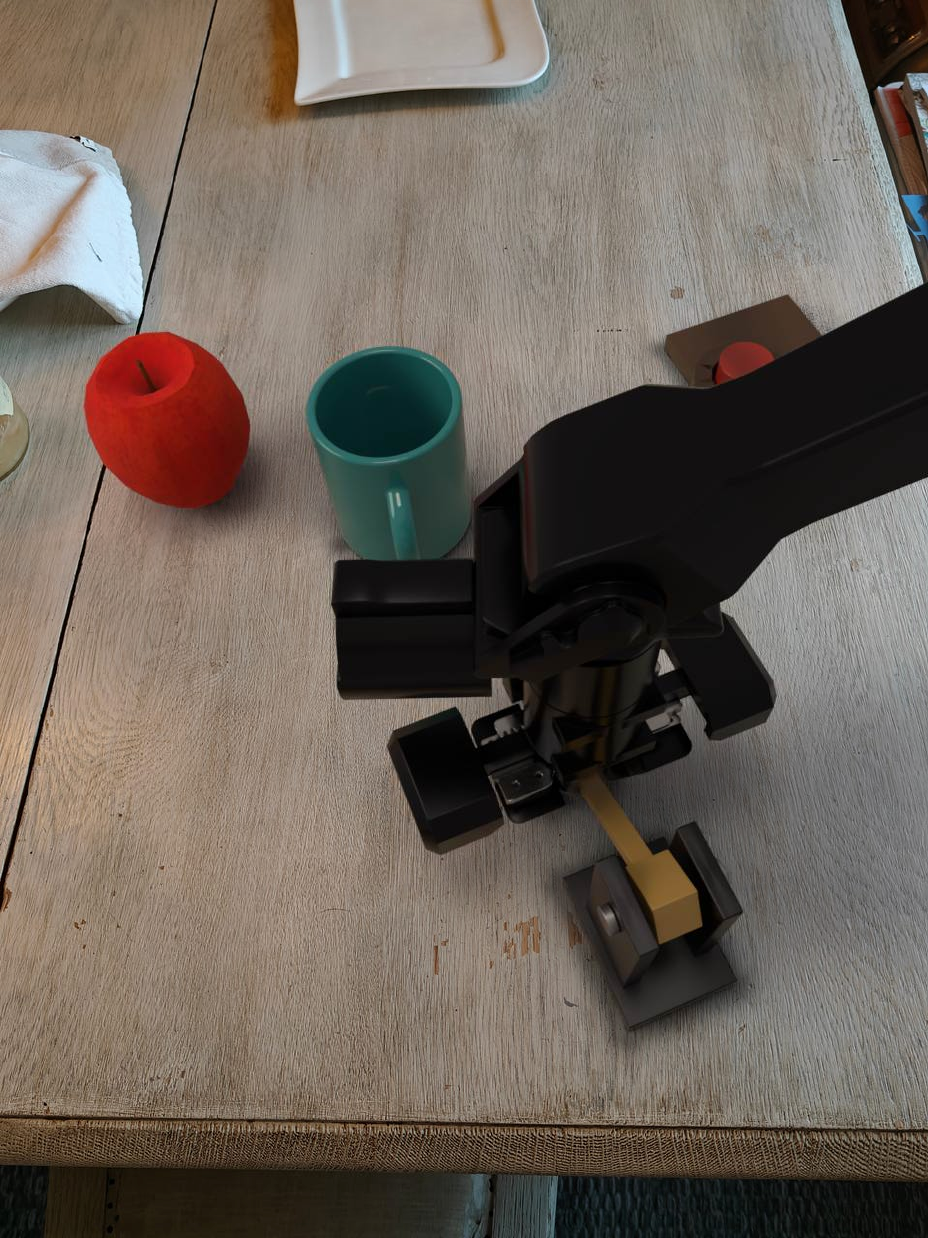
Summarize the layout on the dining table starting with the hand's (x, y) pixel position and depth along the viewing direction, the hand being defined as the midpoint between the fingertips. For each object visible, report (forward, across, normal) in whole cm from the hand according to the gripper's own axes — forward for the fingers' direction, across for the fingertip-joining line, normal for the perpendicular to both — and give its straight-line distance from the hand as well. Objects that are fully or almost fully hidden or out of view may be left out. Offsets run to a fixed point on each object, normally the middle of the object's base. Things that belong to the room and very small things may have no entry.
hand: (574, 784), depth 55 cm
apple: (0, +15, -30) cm, 34 cm away
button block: (0, -25, -23) cm, 34 cm away
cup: (0, +3, -20) cm, 20 cm away
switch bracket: (0, 0, +9) cm, 9 cm away
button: (-3, -22, -21) cm, 31 cm away
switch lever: (-4, 0, +5) cm, 7 cm away
